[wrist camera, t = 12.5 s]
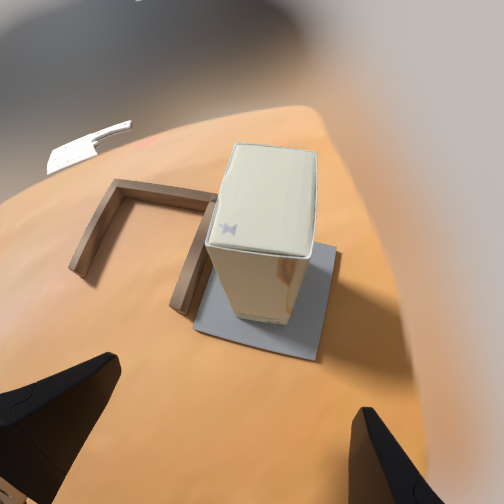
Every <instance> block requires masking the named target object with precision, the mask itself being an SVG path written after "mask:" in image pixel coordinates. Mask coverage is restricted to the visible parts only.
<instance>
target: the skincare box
mask: <svg viewBox="0 0 504 504" xmlns="http://www.w3.org/2000/svg"><path fill="white" fill-rule="evenodd" d="M317 190H318V172H317V153H316V152H314V151H308V150H301V149H295V148H287V147H280V146H271V145H262V144H251V143H240V142H239V143H237V144H235V145H234V148H233V151H232V154H231V157H230V160H229V163H228V166H227V169H226V172H225V175H224V178H223V181H222V184H221V187H220V191H219V194H218V198H217V202H216V205H215V208H214V212H213V215H212V219H211V222H210V226H209V230H208V233H207V237H206V240H205V246H206V249H207V251H208V254H209V256H210V258H211V261H212V263H213V266H214V268H215V271H216V273H217V275H218V278H219V280H220V282H221V284H222V287H223V289H224V291H225V294H226V296H227V298H228V301H229V303H230V305H231V307H232V310H233V312H234V314H235V316H236V317H238V318H243V319H248V320H253V321H259V322H265V323H273V324H282V325H286V324H288V321H289V319H290V316H291V313H292V310H293V307H294V304H295V302H296V299H297V296H298V293H299V290H300V287H301V284H302V281H303V278H304V275H305V273H306V270H307V267H308V264H309V261H310V258H311V256H312V250H313V243H314V236H315V227H316V214H317Z"/></svg>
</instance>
